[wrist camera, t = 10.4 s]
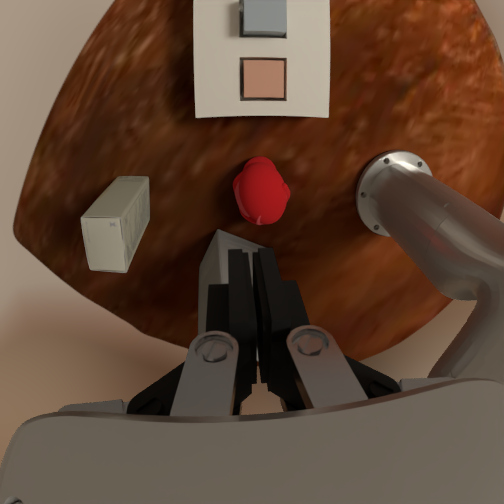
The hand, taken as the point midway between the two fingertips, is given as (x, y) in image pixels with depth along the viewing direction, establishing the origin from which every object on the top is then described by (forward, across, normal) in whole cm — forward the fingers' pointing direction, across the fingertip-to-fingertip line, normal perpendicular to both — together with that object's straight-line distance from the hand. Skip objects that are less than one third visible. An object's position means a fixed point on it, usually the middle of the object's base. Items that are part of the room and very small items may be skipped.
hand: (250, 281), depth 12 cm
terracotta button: (+26, -3, -8) cm, 27 cm away
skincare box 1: (+27, +13, +6) cm, 31 cm away
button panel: (+27, -3, -15) cm, 31 cm away
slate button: (+24, -3, -15) cm, 29 cm away
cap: (+27, -3, +5) cm, 28 cm away
